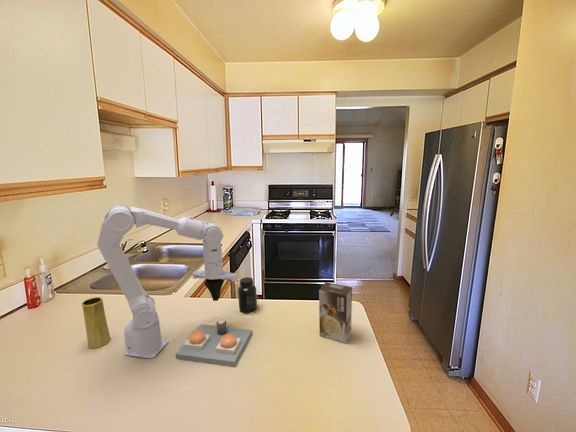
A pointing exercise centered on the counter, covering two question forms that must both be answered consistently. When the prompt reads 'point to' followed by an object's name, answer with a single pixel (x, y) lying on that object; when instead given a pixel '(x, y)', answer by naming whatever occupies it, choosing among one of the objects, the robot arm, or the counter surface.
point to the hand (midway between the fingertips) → (216, 299)
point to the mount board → (215, 347)
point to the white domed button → (221, 327)
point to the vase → (95, 322)
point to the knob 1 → (197, 337)
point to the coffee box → (335, 311)
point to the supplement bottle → (247, 296)
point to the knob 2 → (228, 341)
